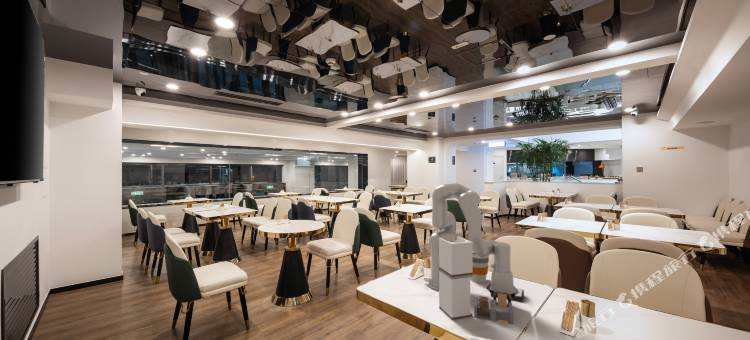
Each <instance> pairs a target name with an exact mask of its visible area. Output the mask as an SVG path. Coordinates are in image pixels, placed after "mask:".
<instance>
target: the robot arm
mask: <svg viewBox="0 0 750 340" xmlns="http://www.w3.org/2000/svg"><path fill="white" fill-rule="evenodd" d="M450 199H456V200H457V202H458V204H459V207H460V209H461V212H462V214H463V216H464V219H465V221H466V224H467V238H468V241H471V242H472V251H473V253H475V254H476V255H477V256H479V257H481V258H485V257H487V256H488V257H489V256H492V255H493V264H490V268H492V271H491V277H490V282H489V283H488V284H487V285H486V286H485V289H486V290H487V291H488V292H489V293H490V295H491V294H492V295H493V297H492V298H493V299H492V300H496V301H497V298H496V293H497V292H500V293H507V294H508V299H507V307H508V308H509V302H511V303H512V300H511V299H512V298H513V297H514V296H515V295H517V294H518V293H519V291H518V290H517V288H518V287H516V286H515V285H514V275H513V271H511V245H510V244H509V243H507V242H501V241H496V240H494V239H490V238H488V239H487V238H486V239H484V237H483V234H482V225H483V222H484V217H483V214H482V212H481V210H480V208H479V205H480V202H481V197H480V195H479V194H478V193H477V192H476V191H474V190H472V189H470V188H468V187H466V186H464V185H462V184H460V183H454V182H453V183H445V184H444V183H443V184H440V185H438V186H437V187H436V188H435V189H433V192H432V196H431V200H432V211H431V213H432V214H431V224H432V226H433V228H434V229H436V230H438V231H435V232H433V233H432V234H431V235H430V236H429V238H428V239H429V248H430V249H429V250H430V276H424V277H423V280H424V282H427V283H428V287H429V288H430V289H432V290H435V291H439V238H442V239H444V240H446V241H449V242H454V243H455V240H456V228H457V227H456V226H457V225H456V222H457V221H456V220H457V219H456V217H455V215H454V214H453V213H452V212H451V211H448V207H449V206H448V202H447V200H450ZM514 291H515V292H514Z"/></svg>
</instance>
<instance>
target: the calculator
mask: <svg viewBox="0 0 750 340" xmlns="http://www.w3.org/2000/svg"><path fill="white" fill-rule="evenodd" d="M516 288H517V290H518V291H519V293H518V294H517V295H515V296H514V297H513V298H512V299H511V301H514V302H515V301H516V302H520V303H523V302H524V297H525V291H524V289H522V288H518V287H516ZM514 292H515V291H514ZM490 298H493V295H492V294H491V293H490ZM496 299H498V292H497V293H496ZM507 300H508V294H507Z"/></svg>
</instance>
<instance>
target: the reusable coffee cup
mask: <svg viewBox="0 0 750 340" xmlns="http://www.w3.org/2000/svg"><path fill="white" fill-rule="evenodd" d="M472 262H473V280H470V282H472V283H476V284H483V283H486V281H487V274H488V272H489V262H490V258H489V256H487V257H485V258H481V257H479V256H477V255H476V254H475V252H472Z"/></svg>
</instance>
